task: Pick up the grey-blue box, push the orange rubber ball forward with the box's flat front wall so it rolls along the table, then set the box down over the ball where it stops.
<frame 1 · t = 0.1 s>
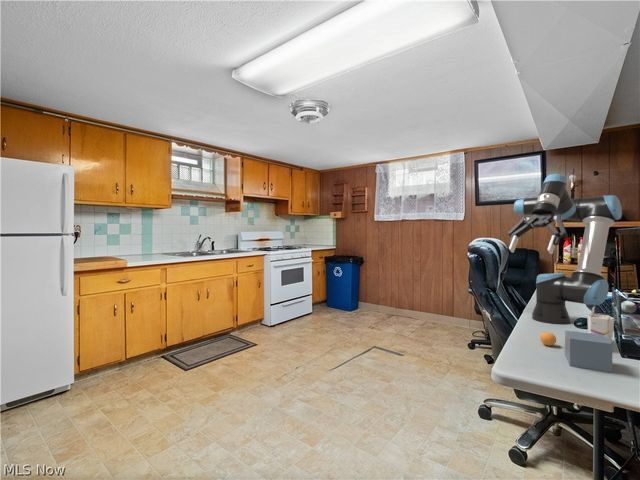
hand: (529, 251, 121), 36 cm above the table, tool tilted 35°, fingers open, 13 cm apart
ball: (548, 338, 121), on the table
white cup: (600, 342, 125), on the table
grey-blue box: (587, 363, 103), on the table
ink cartridge box: (600, 347, 119), on the table
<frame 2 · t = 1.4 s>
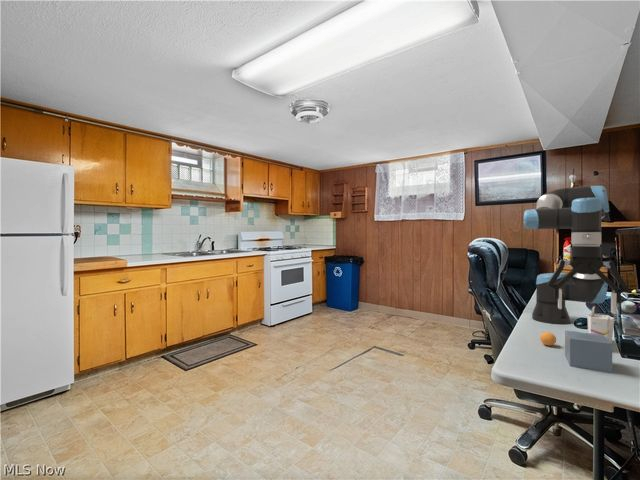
hand: (585, 310, 104), 17 cm above the table, tool pointing down, fingers open, 13 cm apart
nothing on the table moved.
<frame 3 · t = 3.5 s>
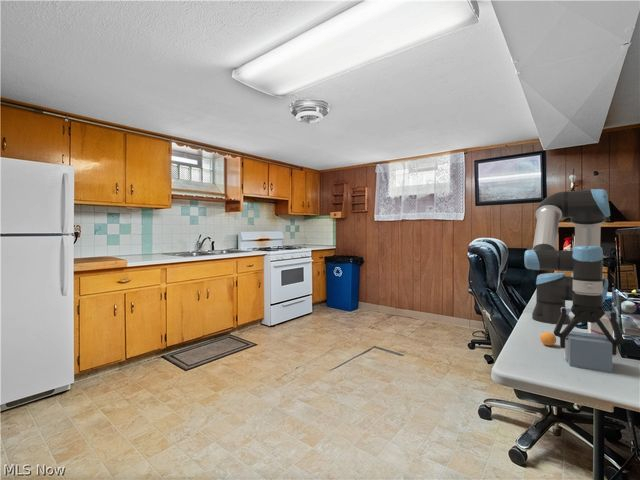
hand: (587, 361, 103), 1 cm above the table, tool pointing down, fingers closed on grey-blue box, 10 cm apart
grey-blue box: (587, 363, 103), on the table, touching gripper
everything else where it was.
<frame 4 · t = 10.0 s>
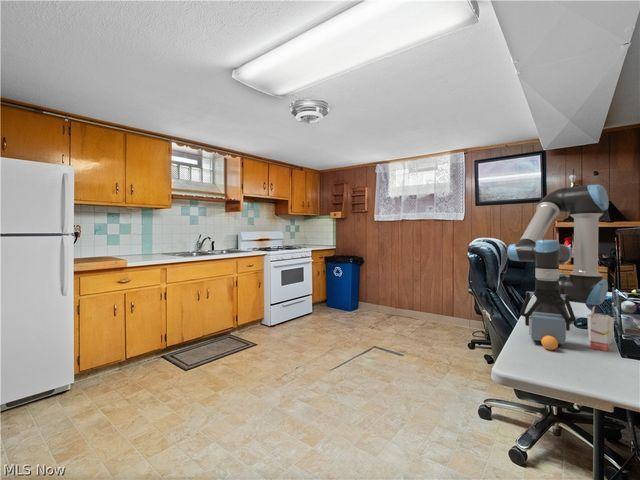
hand: (546, 336, 124), 3 cm above the table, tool pointing down, fingers closed on grey-blue box, 10 cm apart
ball: (549, 342, 116), on the table
grey-blue box: (546, 338, 124), point 2 cm above the table, touching gripper
everything else where it was.
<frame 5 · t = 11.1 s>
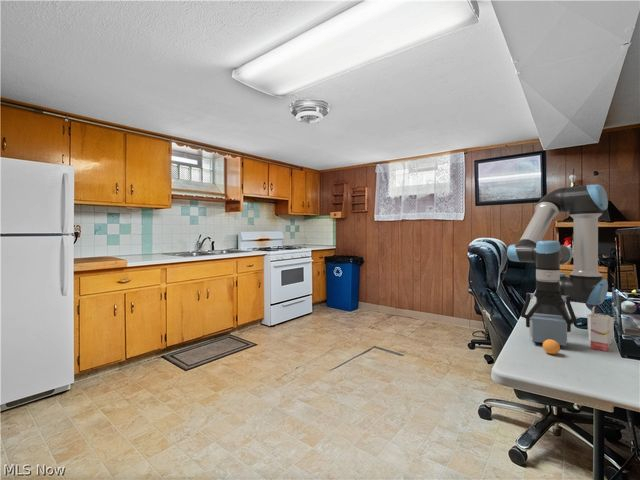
hand: (547, 337, 123), 2 cm above the table, tool pointing down, fingers closed on grey-blue box, 10 cm apart
ball: (551, 346, 112), on the table
grey-blue box: (547, 339, 123), point 2 cm above the table, touching gripper
everything else where it was.
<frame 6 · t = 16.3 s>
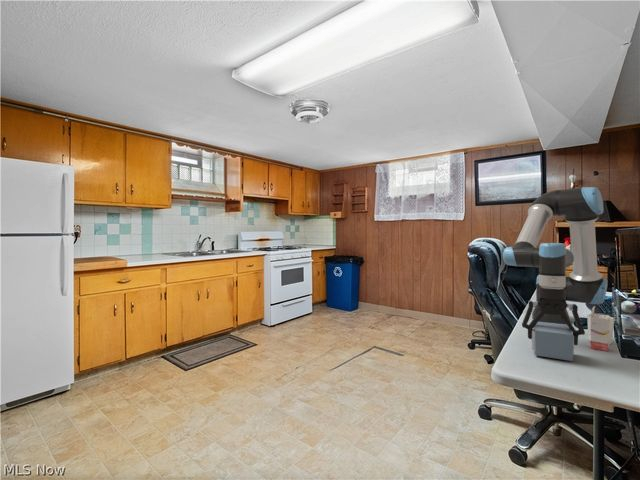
hand: (551, 350, 111), 2 cm above the table, tool pointing down, fingers closed on grey-blue box, 10 cm apart
grey-blue box: (551, 352, 111), point 1 cm above the table, tilted 5°, touching gripper
when the fingers open (1 cm above the table, at t = 16.8 s): grey-blue box stays where it is, on the table.
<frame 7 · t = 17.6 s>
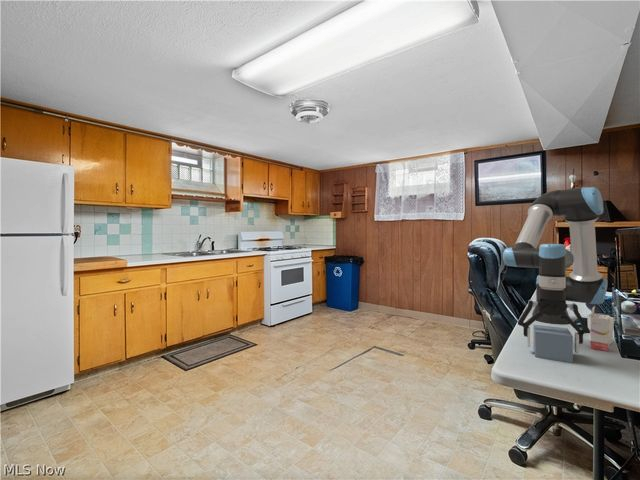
hand: (551, 349, 111), 2 cm above the table, tool pointing down, fingers open, 13 cm apart
grey-blue box: (551, 354, 111), on the table
everything else where it was.
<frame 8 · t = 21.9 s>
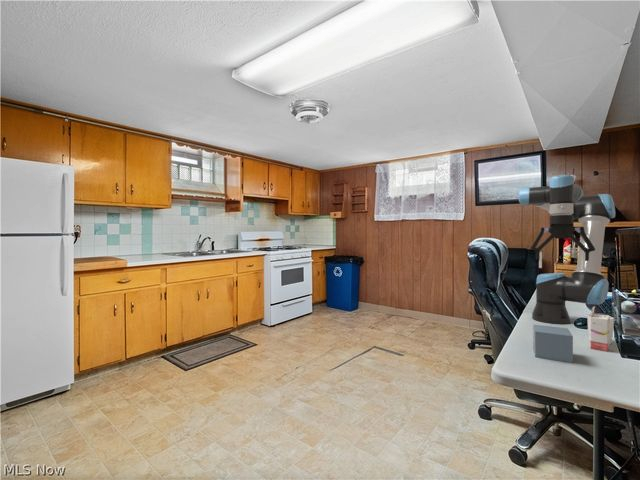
hand: (561, 268, 126), 29 cm above the table, tool pointing down, fingers open, 13 cm apart
nothing on the table moved.
at the end: ball 1.8 cm from the grey-blue box (horizontally); grey-blue box on the table; ball moved 9.6 cm from its start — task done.
